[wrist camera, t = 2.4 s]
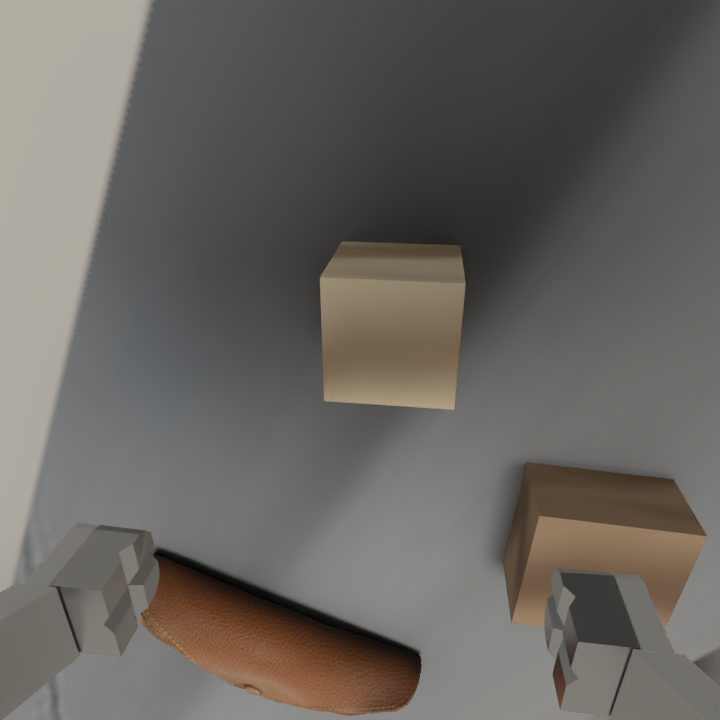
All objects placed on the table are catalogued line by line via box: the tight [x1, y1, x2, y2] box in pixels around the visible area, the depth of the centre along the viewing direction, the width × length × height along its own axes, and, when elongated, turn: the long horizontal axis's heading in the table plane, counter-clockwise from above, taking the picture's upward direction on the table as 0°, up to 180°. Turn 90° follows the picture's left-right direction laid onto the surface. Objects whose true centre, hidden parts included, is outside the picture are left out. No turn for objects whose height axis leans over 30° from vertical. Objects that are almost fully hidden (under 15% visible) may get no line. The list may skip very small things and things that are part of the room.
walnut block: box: [503, 463, 707, 629], centre depth 27 cm, size 7×7×4 cm
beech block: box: [320, 241, 466, 410], centre depth 22 cm, size 5×5×5 cm
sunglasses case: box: [139, 552, 422, 716], centre depth 35 cm, size 18×7×7 cm, turn 67°
